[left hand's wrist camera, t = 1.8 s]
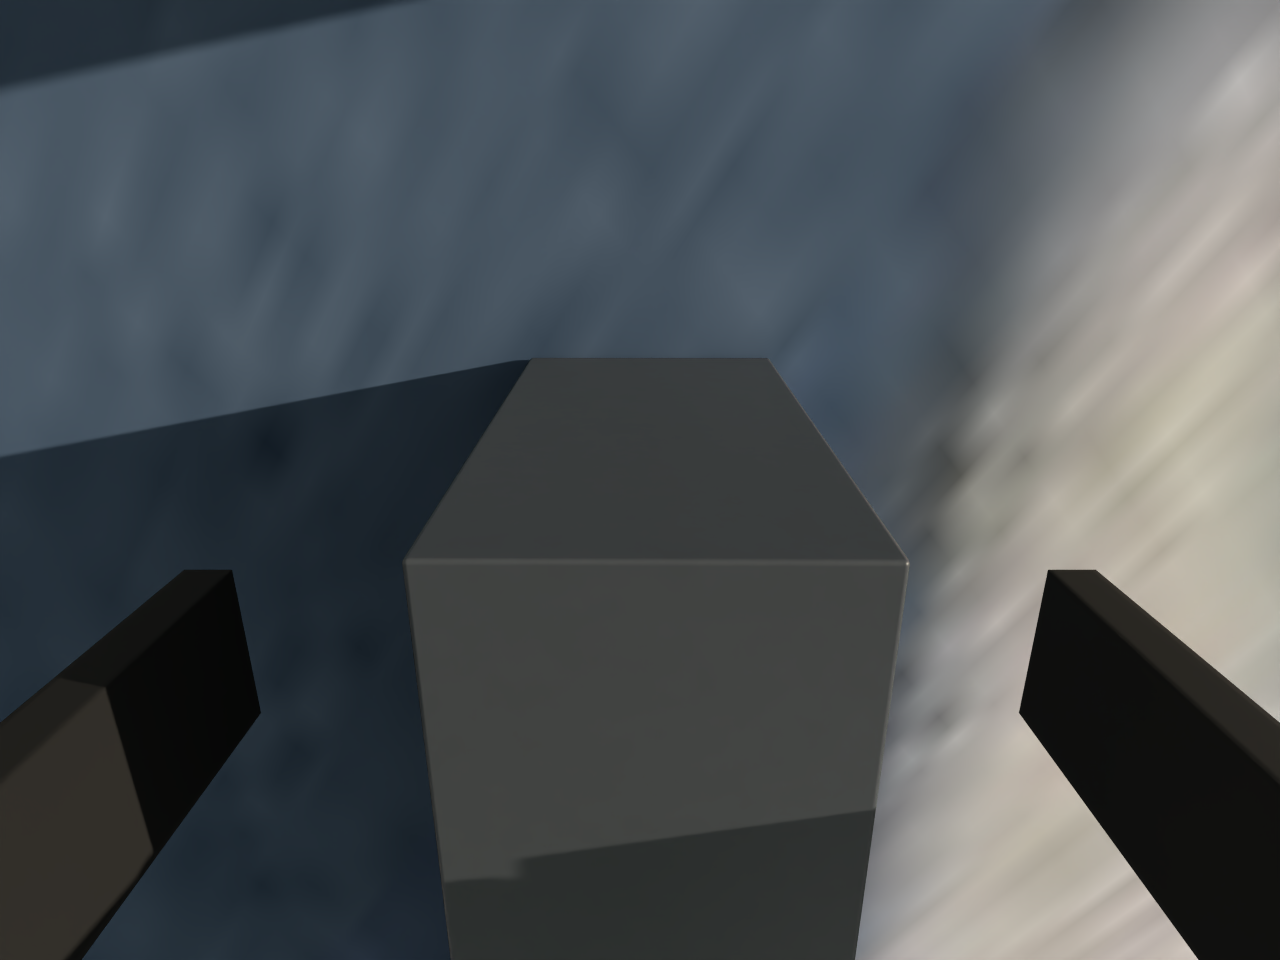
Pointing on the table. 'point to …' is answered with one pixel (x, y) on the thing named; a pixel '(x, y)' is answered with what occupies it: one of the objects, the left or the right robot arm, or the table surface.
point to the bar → (654, 670)
